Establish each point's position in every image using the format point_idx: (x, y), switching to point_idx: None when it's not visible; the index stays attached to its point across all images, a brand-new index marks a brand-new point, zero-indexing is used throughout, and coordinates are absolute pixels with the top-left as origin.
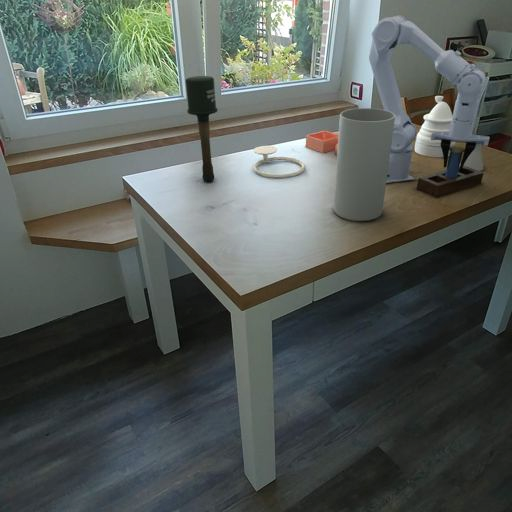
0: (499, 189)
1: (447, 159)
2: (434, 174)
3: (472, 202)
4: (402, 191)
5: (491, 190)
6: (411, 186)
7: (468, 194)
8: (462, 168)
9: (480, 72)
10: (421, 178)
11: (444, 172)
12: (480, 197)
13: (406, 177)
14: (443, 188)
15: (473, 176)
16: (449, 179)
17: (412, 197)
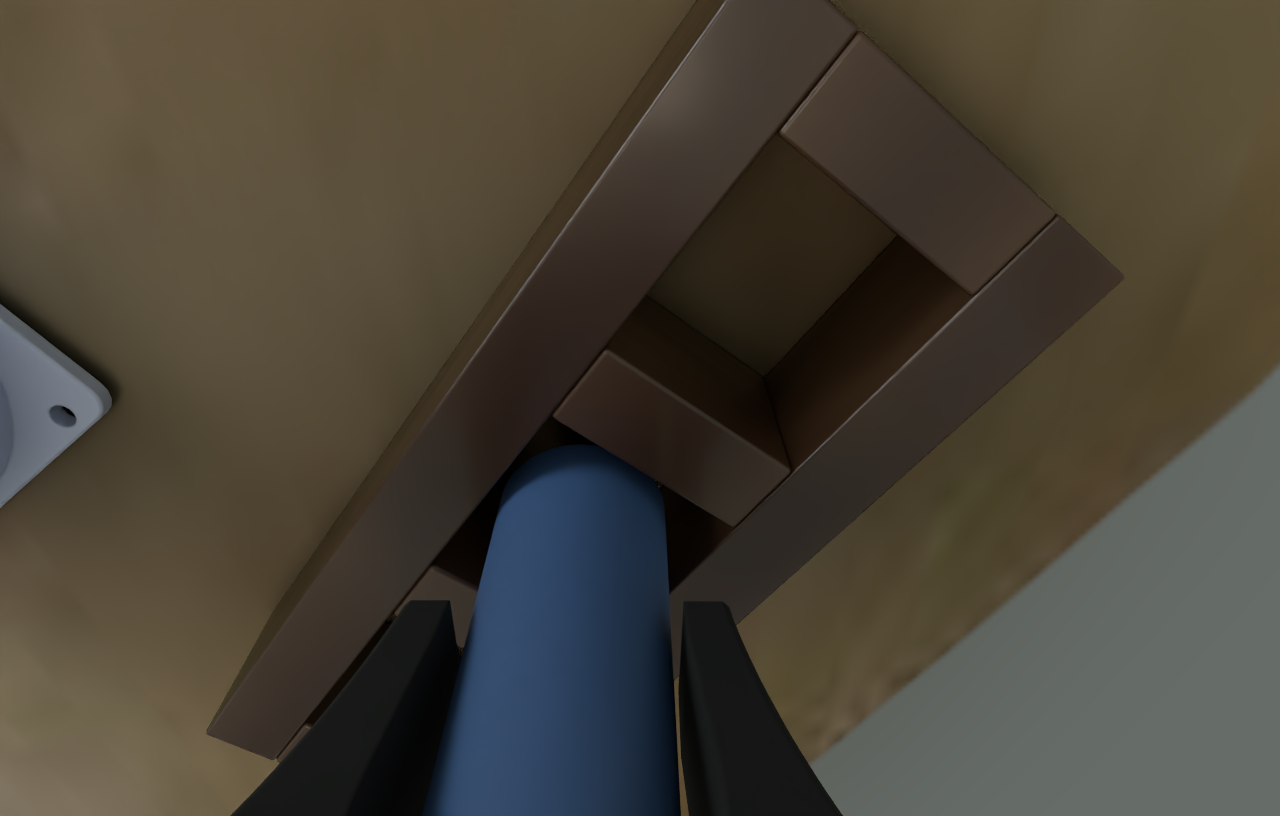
0: (1228, 328)
1: (419, 769)
2: (348, 596)
3: (832, 711)
4: (172, 693)
5: (1105, 393)
6: (191, 567)
7: (811, 574)
8: (749, 165)
9: None
10: (247, 742)
11: (463, 484)
12: (926, 602)
13: (4, 442)
14: None
15: (908, 461)
16: None
17: None
